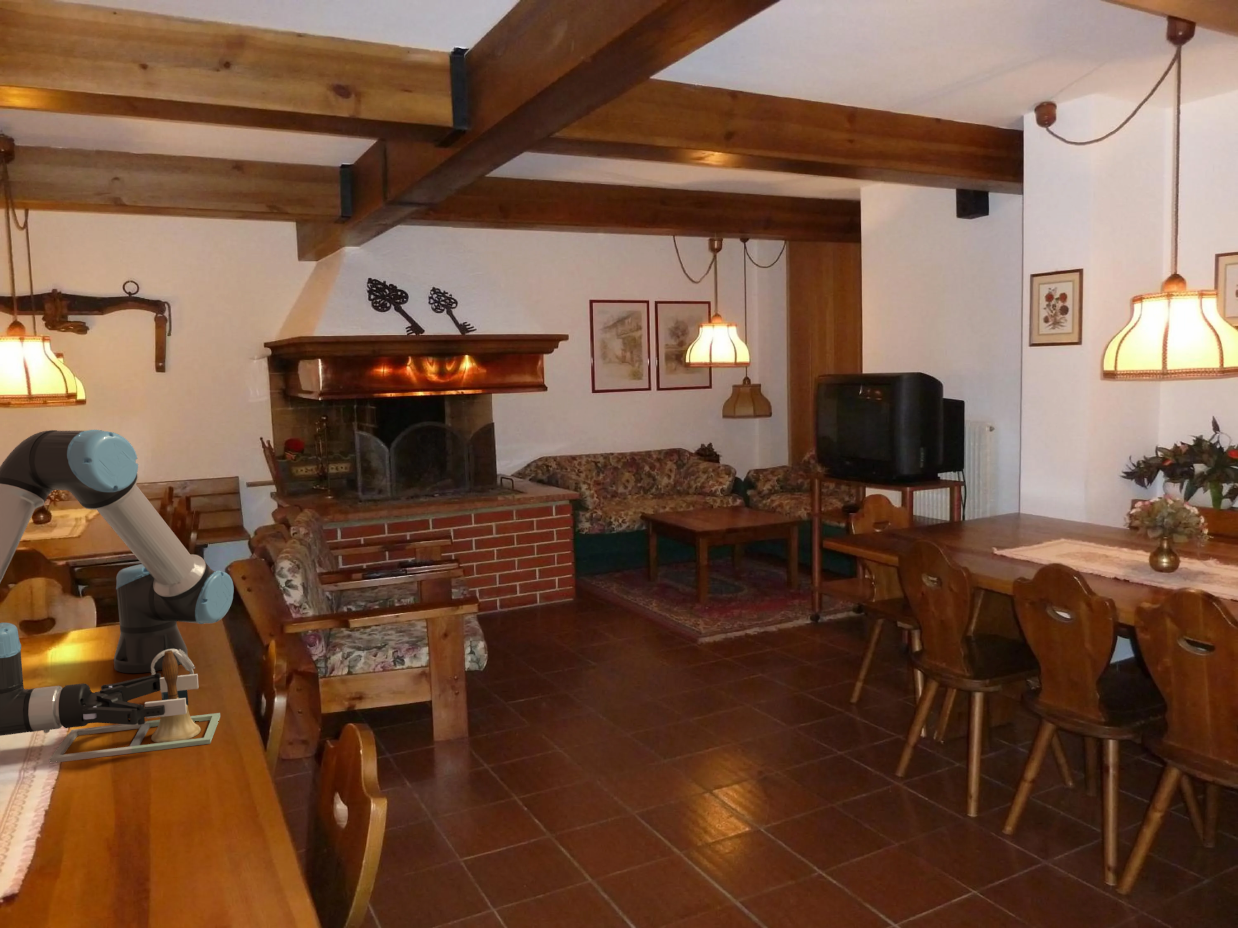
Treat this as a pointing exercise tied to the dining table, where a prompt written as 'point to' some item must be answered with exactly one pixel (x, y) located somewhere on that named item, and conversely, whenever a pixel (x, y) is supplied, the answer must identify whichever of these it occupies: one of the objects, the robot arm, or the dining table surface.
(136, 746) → the window frame
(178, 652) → the watch
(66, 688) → the robot arm
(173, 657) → the hand bell
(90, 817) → the dining table surface
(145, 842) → the dining table surface
